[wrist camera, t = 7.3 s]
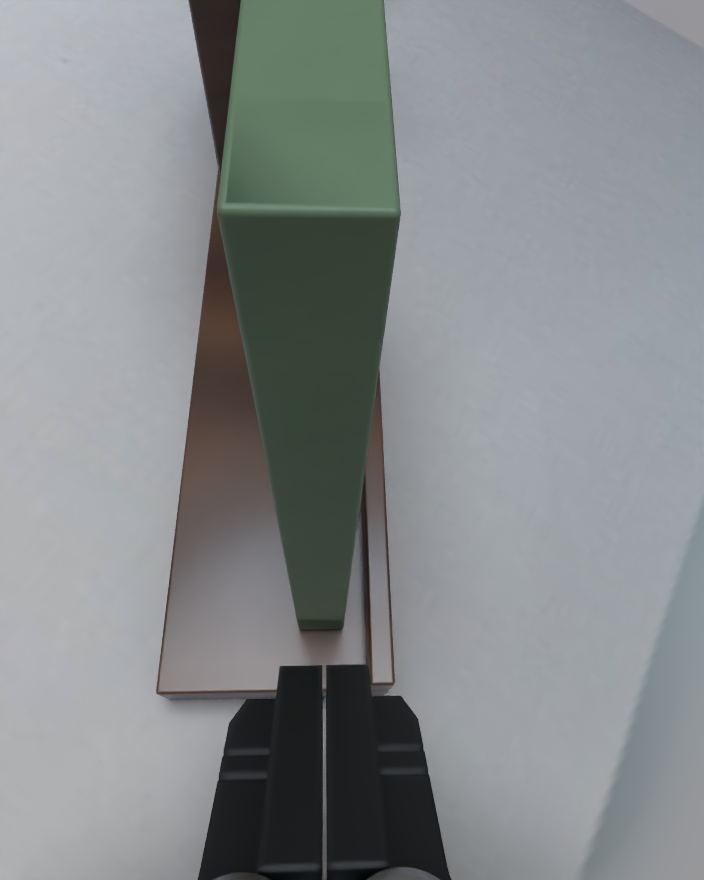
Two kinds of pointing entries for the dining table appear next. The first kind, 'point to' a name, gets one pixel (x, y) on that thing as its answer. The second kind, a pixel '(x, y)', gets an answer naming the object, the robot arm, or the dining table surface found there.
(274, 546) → the window frame
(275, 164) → the sliding pane
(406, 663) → the dining table surface
